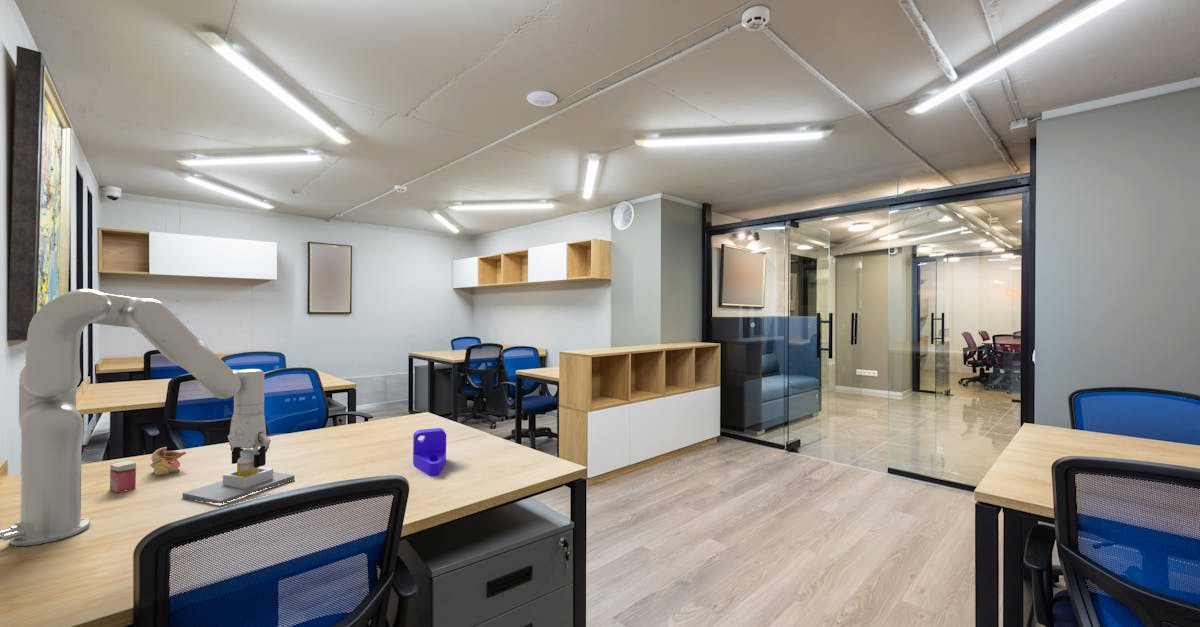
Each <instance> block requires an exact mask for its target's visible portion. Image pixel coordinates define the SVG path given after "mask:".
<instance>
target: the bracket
mask: <svg viewBox="0 0 1200 627" xmlns="http://www.w3.org/2000/svg"><path fill="white" fill-rule="evenodd" d="M421 436H423V437H424V438H423V439H419V438H420V437H421ZM412 440H413V441H412V442H413V443H412V444H413V445H412V449H413V450H412V463H413V467H414V468H416V469H418V470H419V471H421V472H423V473H424V474H426V475H427V476H429V477H437V476H439V475H440V474H441V473H442V471H443V469H444V467H445V465H446V463H447V434H446V432H445V430H444V429H443V428H441V427H436V428H425V429H418V430H416V431H415V432H414V433H413V438H412Z"/></svg>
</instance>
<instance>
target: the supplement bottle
mask: <svg viewBox="0 0 1200 627" xmlns="http://www.w3.org/2000/svg"><path fill="white" fill-rule="evenodd" d="M255 454H256V453H255V451H254V450H253V448H250V449H247V448H244V450H242V451H241V452H240V456H241V458H239V459H238V461H237V463H236V471H237V475H238V476H244V477H246V476H249V475H252V474H255V473H258V470H259V467H257V468H254V455H255Z"/></svg>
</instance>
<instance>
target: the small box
mask: <svg viewBox="0 0 1200 627" xmlns="http://www.w3.org/2000/svg"><path fill="white" fill-rule="evenodd" d="M109 470H110V471H109V472H110V473H109V478H110V479H109V490H110V491H111V490H112V492H114V491H115V493H116V492H119V493H122V492H121V491H123V492H126V491H125V490H128V491H130V489H131V490H134V488H135V489H136V487H137V486H136V482H137V481H136V480H137V477H136V476H137V463H136V462H134V461H131V460H125V461H121V462H117V463H112V464H110V468H109Z"/></svg>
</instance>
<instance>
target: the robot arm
mask: <svg viewBox="0 0 1200 627" xmlns="http://www.w3.org/2000/svg"><path fill="white" fill-rule="evenodd" d="M89 324H96V325H103V326H111V327H113V326H114V327H119V328H120V327H122V328H123V327H124V328H132V329H135V330H136V331H138V333H139V334H141V336H143V338H145V339H146V340H147V341H148V342H149V343H150V344H151V345H152V346H153V347H154V348H156V350H157V351H158V352H159V353H161V354H162V356H163V357H165V358H166V359H167V360H168V361H170V362H172V363H173V364H175V365H177V366H178V367H180V368H182V369H184V370H185V371H186V372H188V373H189V374H191V375H192V376H193V377H194V378H195V379H196V380H197V381H198V387H199V389H200V390H201V391H202V392H203V393H204V394H207V395H209V396H211V397H214V398H217V399H221V400H222V399H223V400H226V399H229V398H233V414H232V417H231V422H230V427H229V434H228V435H227V439H228V445H229V446H230V451H231V464H232V465H235V464H236V465H237V461H238V459H239V458H241V456H240V452H241V451H242V450H245V449H253V450H254V451H255V453H256V454H255V455H254V468H257V467H265V466H266V458H267V457H266V454H267V452H268V449H270V444H271V442H272V440H271V438H269V437H268V436H267V428H266V427H267V426H266V417H265V372H264V371H263V370H262V369H260V368H246V369H239V370H233V369H232V368H231V367H230V366H228V364H227V363H226V362H224V360H222V358H220V356H218V355H217V354H216V352H214V351H213V350H212V349H210V348H209V347H208V346H207V345H206V344H205V343H204V342H203V341H202V340H201V339H200V338H198V336H197V335H196V334H195V333H193V332H192V330H191V329H189V328H188V327H187V325H185V324H184V322H182V321H181V320H180V319H179V318H178V317H177V315H175V314H174V313H173V311H172V310H171V309H170V308H169V307H168V306H167V305H165V304H164V303H163V302H162V301H160V300H158V299H155V298H150V297H149V298H148V297H146V298H145V297H144V298H141V297H132V296H124V295H117V294H111V293H106V292H105V293H104V292H102V291H99V290H97V289H94V288H93V289H92V288H79V289H74V290H71V291H68V292H66V293H64V294H62V295H60V296H57V297H55V298H53V299H51V300H50V301H48V302H47V303H46V304H44V305H43V306H42V307H41V308H39V310H37V312H36V313H35V314H34V315H33V317H32V318H31V321H30V323H29V326H28V330H27V335H26V348H25V365H24V367H23V368H22V369H21V371H20V374H19V380H18V382H19V384H18V423H19V427H20V430H21V435H20V437H21V447H20V449H21V450H20V451H21V452H20V520H16V521H14V522H13V523H14V524H13V525H12V526H11V525H10V526H9V527H8V528H7V529H4V530H0V540H2V541H3V542H6V541H8V540H9V544H10V545H12V546H15V547H17V546H18V547H23V546H24V547H27V546H36V545H42V544H47V543H51V542H56V541H60V540H62V539H66V538H70V537H72V536H74V535H77V534H79V533H81V532H84V531H85V530H86V529H88V528H89V527H90V524H91V521H90V519H88V518H84V517H82V516H81V515H82V448H83V447H82V444H83V435H84V434H83V433H84V419H83V415H82V414H81V412H80V411H79V409H78V408H77V387H78V385H79V384H80V382H81V378H82V374H81V366H80V348H81V336H82V333H83V331H84V329H86V327H87V326H88V325H89Z"/></svg>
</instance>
